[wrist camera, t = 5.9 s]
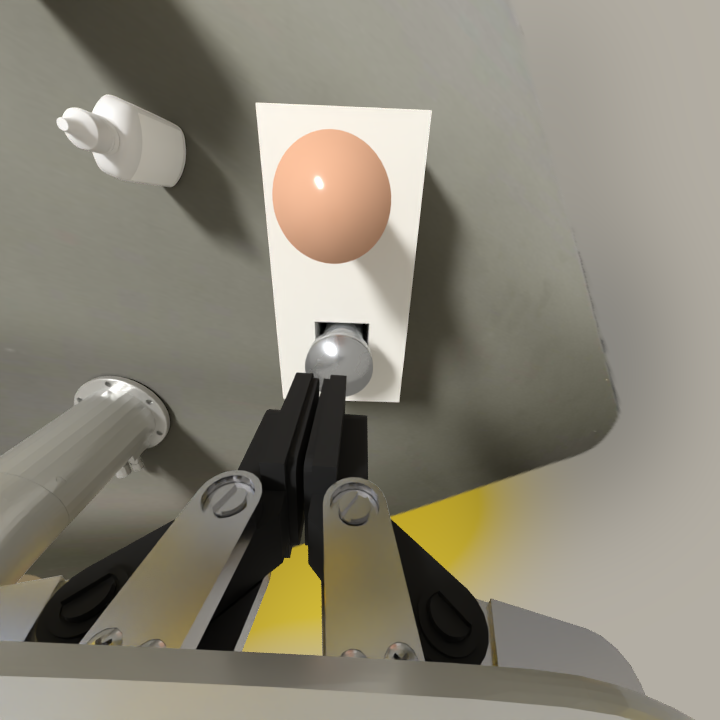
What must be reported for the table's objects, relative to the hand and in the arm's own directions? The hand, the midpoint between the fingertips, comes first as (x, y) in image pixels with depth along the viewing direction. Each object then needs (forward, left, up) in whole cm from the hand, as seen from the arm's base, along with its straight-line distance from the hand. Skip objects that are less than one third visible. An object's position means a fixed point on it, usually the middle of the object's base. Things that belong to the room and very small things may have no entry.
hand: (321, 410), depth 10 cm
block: (0, 0, -28) cm, 28 cm away
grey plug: (-6, 0, -27) cm, 28 cm away
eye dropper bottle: (+10, +18, -28) cm, 35 cm away
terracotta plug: (+6, 0, -22) cm, 23 cm away
